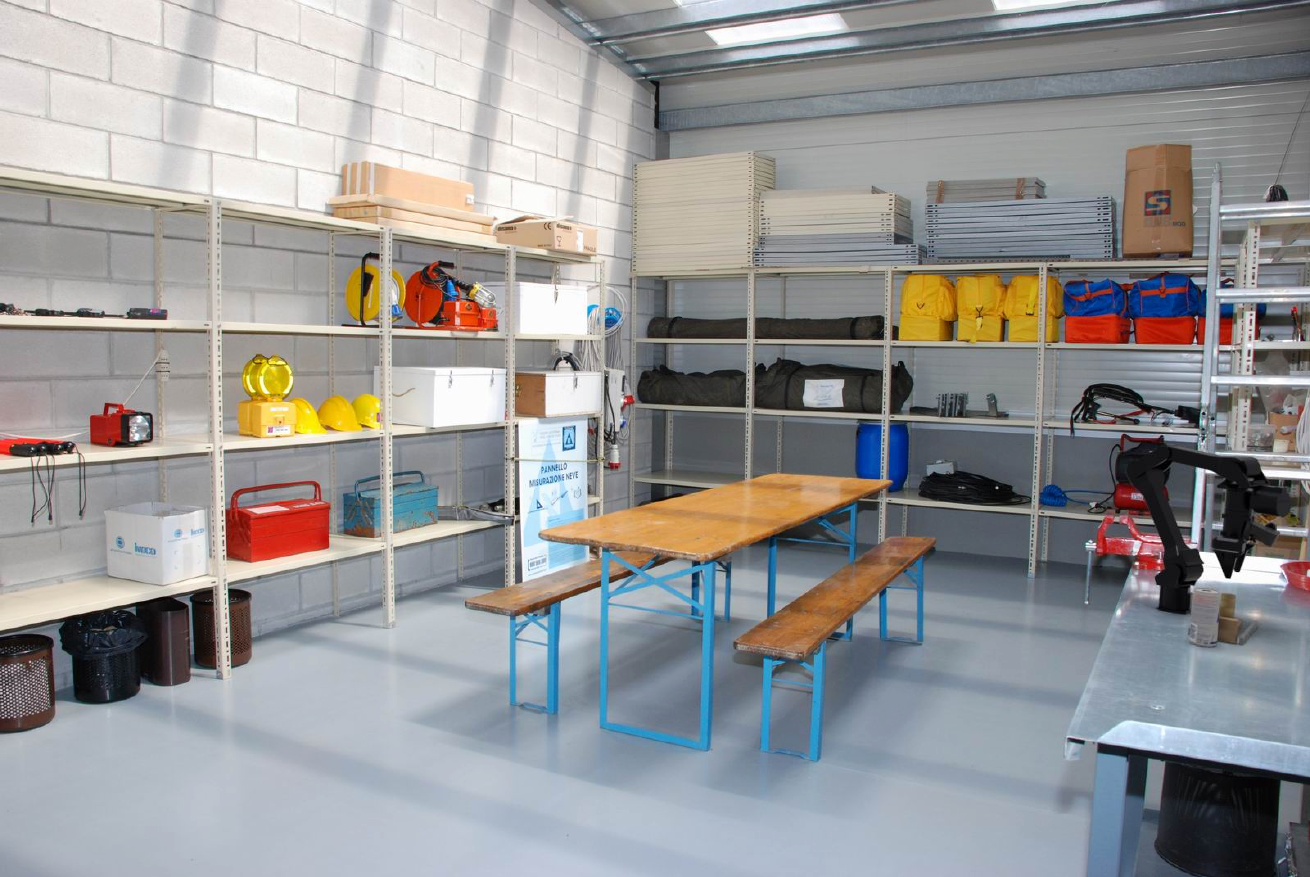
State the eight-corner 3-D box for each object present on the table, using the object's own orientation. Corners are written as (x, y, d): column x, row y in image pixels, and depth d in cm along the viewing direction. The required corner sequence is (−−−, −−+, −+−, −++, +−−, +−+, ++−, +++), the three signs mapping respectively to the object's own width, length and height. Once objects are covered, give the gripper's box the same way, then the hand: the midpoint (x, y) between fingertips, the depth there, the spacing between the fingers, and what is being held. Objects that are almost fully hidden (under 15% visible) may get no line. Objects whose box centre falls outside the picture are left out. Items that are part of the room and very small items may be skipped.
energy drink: (1215, 642, 217) (1219, 589, 215) (1218, 648, 212) (1222, 594, 211) (1188, 638, 219) (1192, 586, 218) (1190, 645, 214) (1194, 591, 213)
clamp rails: (1188, 635, 222) (1188, 628, 221) (1205, 618, 236) (1206, 612, 236) (1242, 645, 215) (1243, 638, 215) (1257, 627, 229) (1257, 620, 229)
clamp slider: (1194, 636, 220) (1197, 602, 219) (1207, 622, 231) (1210, 590, 231) (1235, 643, 215) (1238, 608, 214) (1246, 629, 226) (1249, 596, 225)
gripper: (1270, 519, 216) (1264, 588, 217) (1286, 510, 230) (1280, 575, 231) (1213, 512, 223) (1208, 579, 225) (1232, 503, 237) (1227, 566, 239)
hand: (1232, 575), depth 230 cm, fingers open, 9 cm apart
